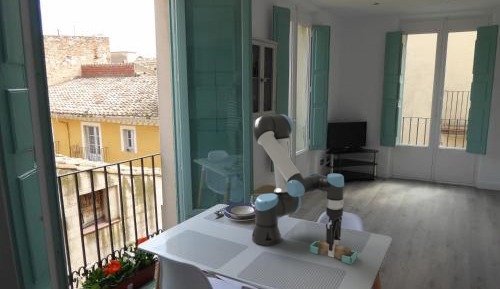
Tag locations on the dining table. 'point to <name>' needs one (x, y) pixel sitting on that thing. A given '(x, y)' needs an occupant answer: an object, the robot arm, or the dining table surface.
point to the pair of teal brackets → (345, 259)
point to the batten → (337, 252)
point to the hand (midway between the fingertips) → (333, 254)
